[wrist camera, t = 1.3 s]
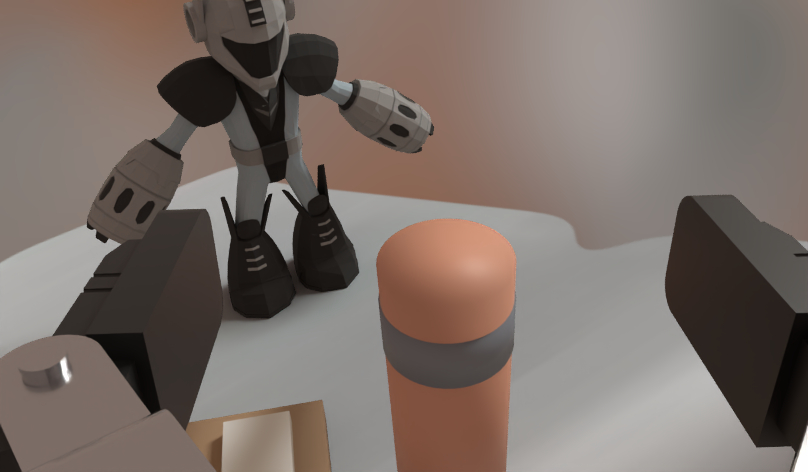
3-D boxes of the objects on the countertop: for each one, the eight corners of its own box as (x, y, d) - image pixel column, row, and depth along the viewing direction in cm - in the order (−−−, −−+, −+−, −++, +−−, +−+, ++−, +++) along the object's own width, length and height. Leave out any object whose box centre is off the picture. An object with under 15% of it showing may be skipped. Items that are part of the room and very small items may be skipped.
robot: (413, 209, 49) (395, -107, 37) (451, 246, 46) (445, -90, 34) (123, 316, 42) (-16, -31, 30) (142, 369, 39) (-6, 2, 27)
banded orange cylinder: (489, 457, 33) (495, 209, 25) (518, 548, 30) (537, 295, 21) (393, 474, 33) (366, 228, 24) (410, 569, 29) (386, 319, 21)
